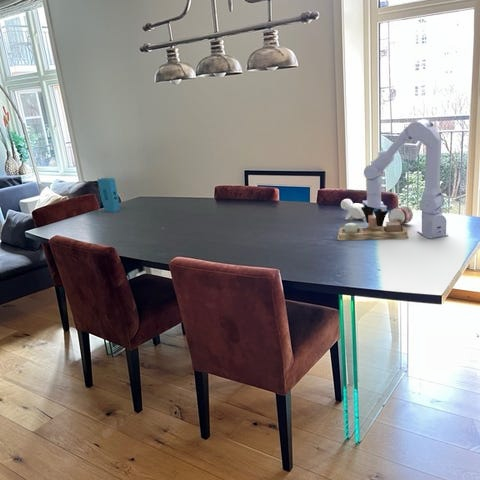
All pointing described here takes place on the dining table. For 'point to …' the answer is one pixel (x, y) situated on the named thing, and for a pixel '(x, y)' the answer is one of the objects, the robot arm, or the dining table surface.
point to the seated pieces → (389, 226)
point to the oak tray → (372, 233)
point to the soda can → (400, 215)
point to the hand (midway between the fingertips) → (374, 224)
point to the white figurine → (353, 209)
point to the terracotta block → (372, 221)
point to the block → (108, 194)
